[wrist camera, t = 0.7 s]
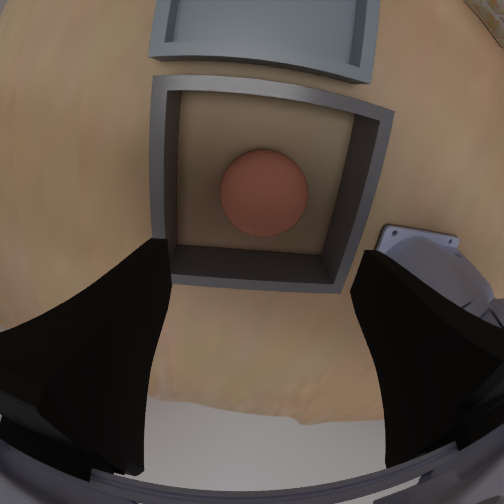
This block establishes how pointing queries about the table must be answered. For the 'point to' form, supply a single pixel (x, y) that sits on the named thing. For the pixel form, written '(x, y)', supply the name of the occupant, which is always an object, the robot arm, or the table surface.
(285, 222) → the ball
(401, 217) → the table surface
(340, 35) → the tray
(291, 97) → the grey square frame
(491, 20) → the coffeecake box
